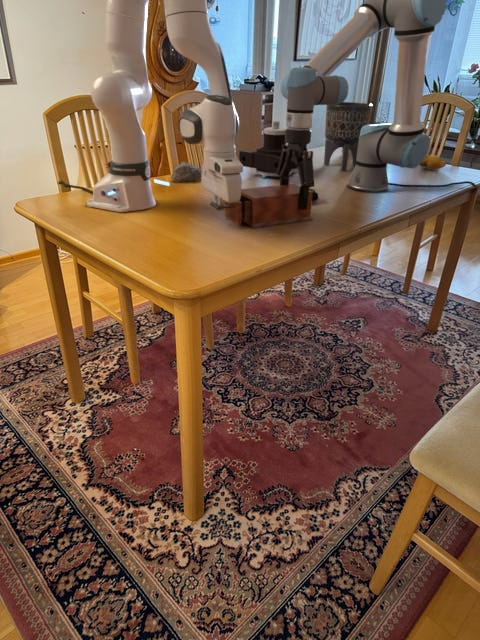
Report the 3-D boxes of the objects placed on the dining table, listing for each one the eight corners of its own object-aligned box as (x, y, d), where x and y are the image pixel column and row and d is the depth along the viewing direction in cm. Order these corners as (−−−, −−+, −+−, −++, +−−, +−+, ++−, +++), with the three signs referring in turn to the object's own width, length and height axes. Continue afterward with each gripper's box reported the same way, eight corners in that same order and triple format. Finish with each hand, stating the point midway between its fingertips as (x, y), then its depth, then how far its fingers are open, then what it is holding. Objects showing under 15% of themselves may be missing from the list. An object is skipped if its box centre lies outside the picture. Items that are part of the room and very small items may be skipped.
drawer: (219, 228, 130) (219, 205, 126) (207, 218, 137) (207, 196, 134) (293, 218, 139) (295, 196, 135) (278, 209, 146) (279, 188, 143)
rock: (196, 175, 189) (195, 159, 185) (208, 179, 183) (208, 163, 180) (168, 180, 181) (167, 163, 178) (181, 184, 176) (180, 167, 172)
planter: (313, 167, 208) (319, 103, 195) (331, 160, 222) (338, 101, 209) (353, 173, 199) (362, 107, 185) (369, 166, 213) (379, 104, 199)
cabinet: (252, 227, 134) (253, 198, 129) (237, 217, 142) (237, 189, 138) (310, 219, 141) (312, 191, 137) (292, 210, 149) (294, 183, 145)
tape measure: (298, 204, 156) (299, 193, 154) (293, 198, 161) (294, 187, 159) (317, 203, 156) (319, 192, 155) (312, 198, 162) (313, 187, 160)
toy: (420, 162, 205) (414, 155, 217) (422, 176, 207) (416, 168, 220) (446, 154, 201) (438, 147, 214) (448, 168, 204) (440, 161, 217)
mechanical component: (240, 120, 182) (283, 115, 202) (239, 174, 192) (280, 164, 212) (283, 126, 170) (325, 120, 190) (280, 183, 180) (320, 171, 200)
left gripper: (195, 155, 132) (196, 202, 139) (224, 169, 117) (224, 221, 123) (215, 153, 135) (215, 200, 142) (246, 167, 119) (244, 218, 126)
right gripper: (268, 123, 139) (264, 195, 150) (309, 134, 120) (302, 215, 132) (289, 123, 141) (284, 193, 152) (332, 133, 123) (323, 213, 134)
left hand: (219, 210), depth 132 cm, fingers closed, pressing on drawer
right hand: (292, 204), depth 142 cm, fingers closed on cabinet, 11 cm apart
